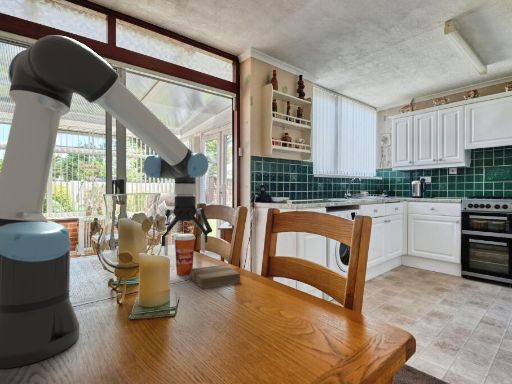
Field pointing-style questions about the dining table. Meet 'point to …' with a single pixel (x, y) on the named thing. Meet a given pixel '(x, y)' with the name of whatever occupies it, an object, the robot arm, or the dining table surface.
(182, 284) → the dining table surface
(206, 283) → the walnut plinth
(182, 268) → the paper cup
